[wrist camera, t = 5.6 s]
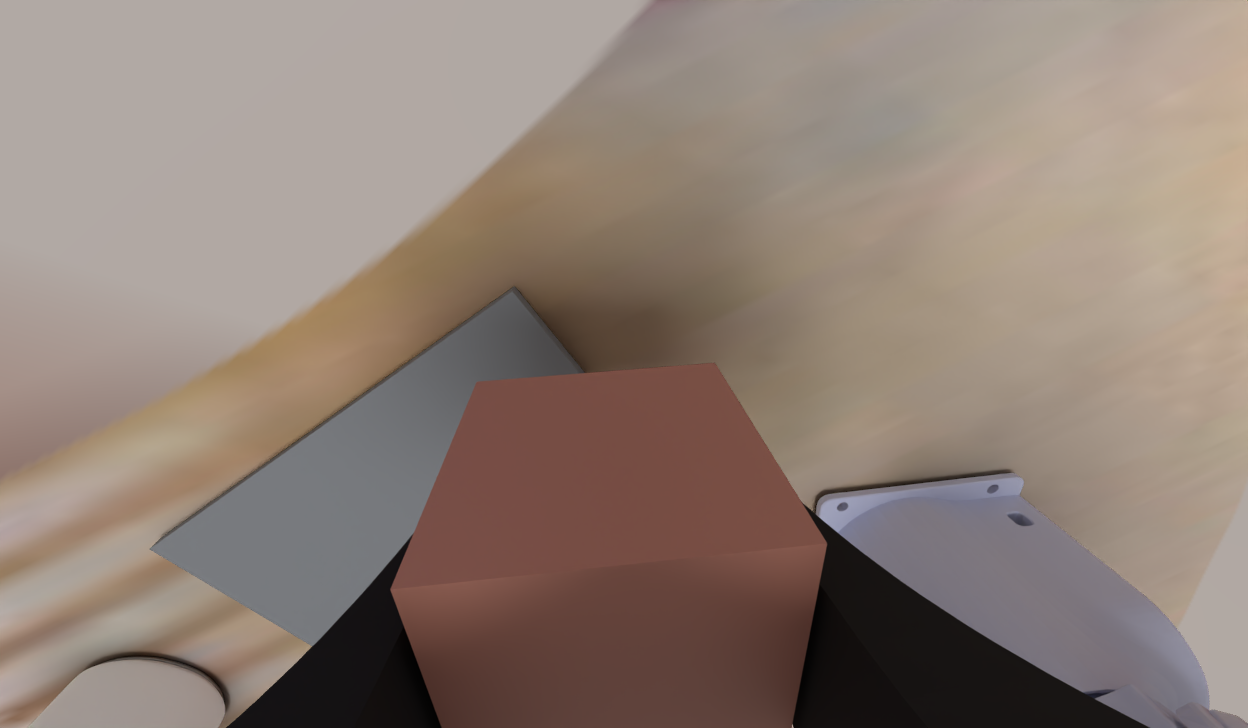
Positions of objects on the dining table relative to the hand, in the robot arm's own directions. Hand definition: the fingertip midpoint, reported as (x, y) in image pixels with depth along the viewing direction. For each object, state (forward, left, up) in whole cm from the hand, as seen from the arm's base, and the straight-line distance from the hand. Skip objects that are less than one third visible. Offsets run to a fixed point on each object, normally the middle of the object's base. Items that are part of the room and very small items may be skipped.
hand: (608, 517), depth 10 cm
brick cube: (0, 0, -2) cm, 2 cm away
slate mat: (+7, +8, -8) cm, 13 cm away
